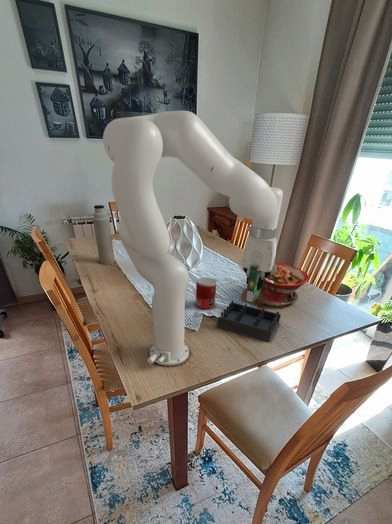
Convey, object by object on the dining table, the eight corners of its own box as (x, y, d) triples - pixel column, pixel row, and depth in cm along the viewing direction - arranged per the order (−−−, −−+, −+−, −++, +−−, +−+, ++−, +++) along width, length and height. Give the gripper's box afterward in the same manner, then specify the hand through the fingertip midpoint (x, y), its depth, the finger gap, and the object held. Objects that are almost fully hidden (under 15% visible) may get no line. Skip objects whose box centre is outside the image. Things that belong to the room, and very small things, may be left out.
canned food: (213, 311, 117) (215, 285, 111) (193, 308, 119) (194, 283, 112) (215, 302, 124) (217, 278, 117) (197, 300, 125) (198, 276, 118)
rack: (278, 323, 111) (281, 310, 108) (269, 341, 101) (272, 328, 98) (230, 311, 118) (231, 298, 115) (217, 326, 108) (218, 313, 104)
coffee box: (252, 303, 99) (258, 266, 92) (244, 301, 101) (249, 265, 93) (260, 295, 105) (266, 259, 97) (252, 293, 106) (258, 257, 98)
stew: (267, 318, 114) (275, 280, 105) (230, 294, 130) (234, 259, 121) (313, 302, 127) (324, 267, 117) (274, 283, 143) (281, 250, 133)
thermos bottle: (116, 259, 161) (109, 204, 144) (112, 264, 155) (105, 207, 138) (102, 258, 161) (93, 203, 144) (97, 264, 154) (88, 206, 138)
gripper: (234, 231, 90) (228, 286, 100) (287, 240, 84) (274, 297, 95) (242, 226, 95) (235, 279, 106) (292, 234, 89) (279, 288, 100)
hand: (254, 287), depth 100 cm, fingers closed on coffee box, 3 cm apart
